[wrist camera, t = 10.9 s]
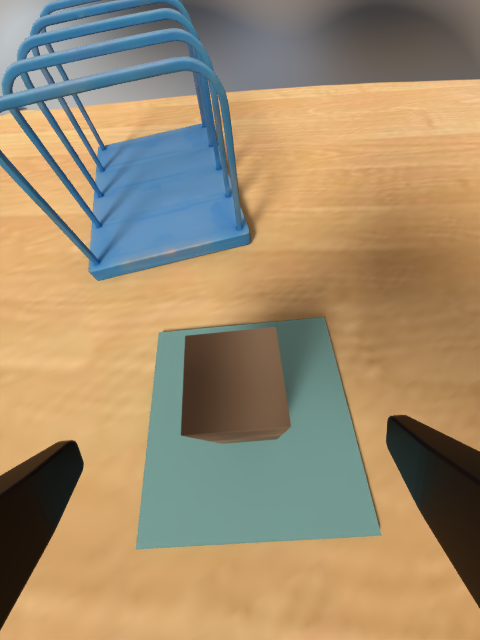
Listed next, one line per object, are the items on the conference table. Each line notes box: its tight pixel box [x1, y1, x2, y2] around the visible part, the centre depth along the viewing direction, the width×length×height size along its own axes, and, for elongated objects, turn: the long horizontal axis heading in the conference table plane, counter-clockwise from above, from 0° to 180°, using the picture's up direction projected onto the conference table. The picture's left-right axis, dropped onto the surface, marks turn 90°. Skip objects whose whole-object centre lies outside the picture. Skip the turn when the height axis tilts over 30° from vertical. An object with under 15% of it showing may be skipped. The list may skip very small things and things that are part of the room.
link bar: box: [181, 327, 291, 444], centre depth 14 cm, size 4×4×10 cm
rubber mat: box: [136, 317, 381, 549], centre depth 19 cm, size 15×15×1 cm
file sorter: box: [0, 0, 251, 281], centre depth 26 cm, size 25×17×15 cm
